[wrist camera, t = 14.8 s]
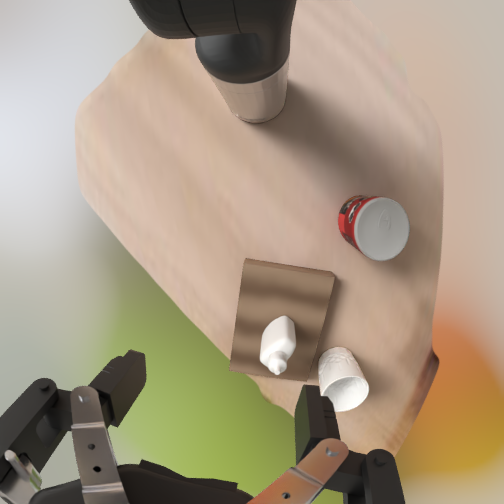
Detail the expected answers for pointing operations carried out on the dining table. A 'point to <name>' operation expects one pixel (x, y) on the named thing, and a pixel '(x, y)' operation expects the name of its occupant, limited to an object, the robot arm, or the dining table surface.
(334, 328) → the dining table surface
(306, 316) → the walnut base board
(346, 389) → the white cup
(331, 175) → the dining table surface
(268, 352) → the eye dropper bottle
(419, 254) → the dining table surface
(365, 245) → the canned food
